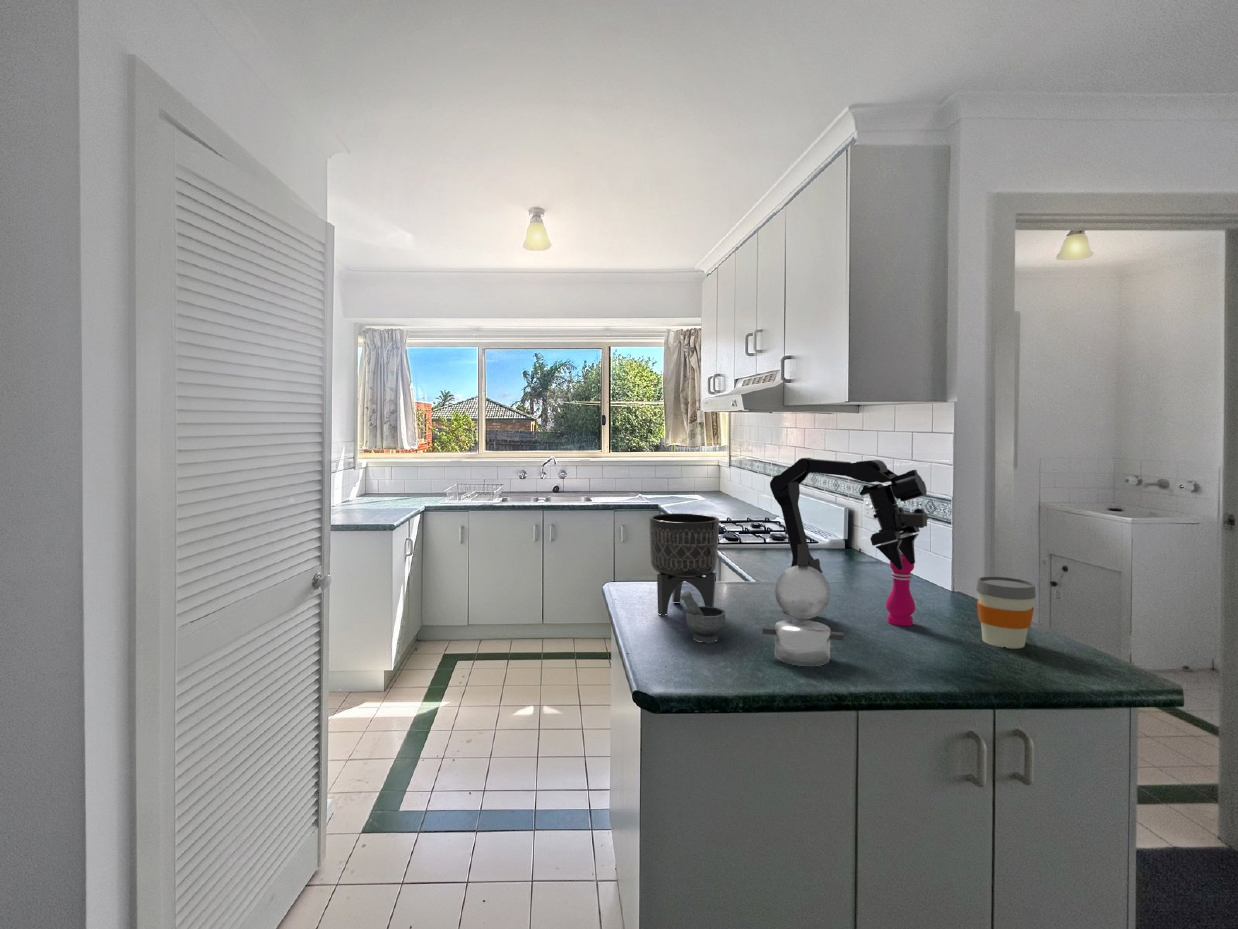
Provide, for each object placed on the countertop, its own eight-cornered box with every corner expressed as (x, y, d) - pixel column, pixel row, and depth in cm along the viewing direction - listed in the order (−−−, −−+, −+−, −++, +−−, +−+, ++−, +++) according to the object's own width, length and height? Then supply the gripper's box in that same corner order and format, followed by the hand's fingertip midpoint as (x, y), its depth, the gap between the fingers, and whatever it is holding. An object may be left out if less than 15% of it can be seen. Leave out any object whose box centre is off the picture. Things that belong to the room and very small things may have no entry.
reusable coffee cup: (962, 637, 166) (964, 578, 165) (997, 632, 171) (1000, 574, 170) (1009, 653, 154) (1012, 590, 154) (1045, 647, 159) (1048, 585, 158)
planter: (724, 605, 194) (726, 515, 192) (708, 624, 175) (710, 524, 174) (660, 598, 201) (661, 511, 199) (638, 615, 183) (639, 520, 181)
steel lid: (774, 617, 158) (774, 617, 159) (830, 621, 155) (829, 621, 156) (776, 542, 161) (776, 543, 162) (830, 545, 158) (830, 546, 159)
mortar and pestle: (718, 632, 168) (718, 585, 168) (730, 644, 159) (731, 594, 159) (675, 634, 166) (675, 587, 166) (685, 646, 157) (686, 596, 156)
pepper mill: (917, 627, 174) (920, 552, 173) (888, 625, 175) (890, 550, 174) (911, 620, 181) (913, 547, 180) (883, 618, 182) (885, 545, 181)
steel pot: (762, 645, 158) (763, 616, 158) (840, 652, 154) (841, 622, 154) (761, 663, 147) (761, 631, 146) (845, 670, 142) (846, 638, 142)
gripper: (904, 500, 158) (927, 564, 155) (928, 495, 172) (950, 553, 169) (860, 513, 165) (882, 575, 162) (887, 507, 179) (907, 564, 176)
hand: (907, 566), depth 167 cm, fingers open, 9 cm apart
